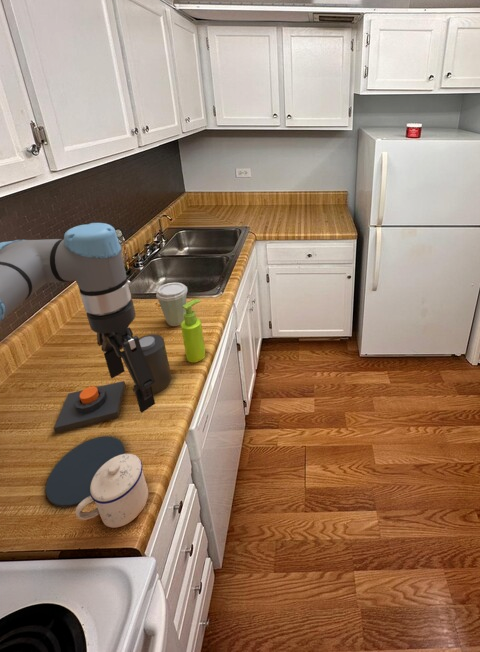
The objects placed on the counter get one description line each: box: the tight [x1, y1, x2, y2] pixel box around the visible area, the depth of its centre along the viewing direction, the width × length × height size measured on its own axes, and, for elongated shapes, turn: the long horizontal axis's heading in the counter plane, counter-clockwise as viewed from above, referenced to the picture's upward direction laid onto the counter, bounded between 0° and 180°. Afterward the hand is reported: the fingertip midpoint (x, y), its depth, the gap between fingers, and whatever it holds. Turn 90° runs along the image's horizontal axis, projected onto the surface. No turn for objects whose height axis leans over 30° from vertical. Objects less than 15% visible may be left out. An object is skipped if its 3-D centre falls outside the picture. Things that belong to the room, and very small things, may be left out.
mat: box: [45, 435, 126, 508], centre depth 75 cm, size 15×15×1 cm
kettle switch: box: [80, 386, 99, 404], centre depth 88 cm, size 4×4×2 cm
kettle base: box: [53, 380, 127, 434], centre depth 89 cm, size 14×11×4 cm
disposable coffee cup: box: [155, 282, 188, 327], centre depth 122 cm, size 11×11×15 cm
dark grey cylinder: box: [138, 334, 173, 396], centre depth 96 cm, size 9×11×15 cm
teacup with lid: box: [75, 453, 149, 529], centre depth 66 cm, size 12×9×12 cm
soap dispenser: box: [180, 298, 206, 363], centre depth 105 cm, size 6×7×20 cm
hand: (131, 389), depth 70 cm, fingers open, 13 cm apart
